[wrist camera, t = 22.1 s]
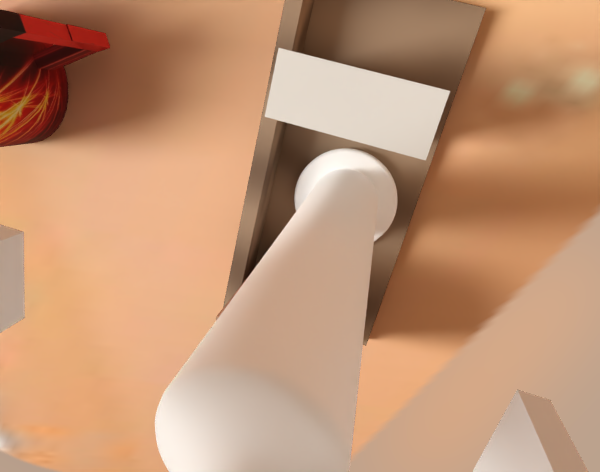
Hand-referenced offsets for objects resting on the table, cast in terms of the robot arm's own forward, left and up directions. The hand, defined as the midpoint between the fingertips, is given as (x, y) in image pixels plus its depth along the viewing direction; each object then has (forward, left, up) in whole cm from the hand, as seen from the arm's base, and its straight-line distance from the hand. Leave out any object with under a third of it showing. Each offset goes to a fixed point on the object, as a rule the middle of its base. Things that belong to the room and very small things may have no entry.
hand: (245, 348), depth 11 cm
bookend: (-6, 0, -19) cm, 20 cm away
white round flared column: (0, +1, -20) cm, 20 cm away
